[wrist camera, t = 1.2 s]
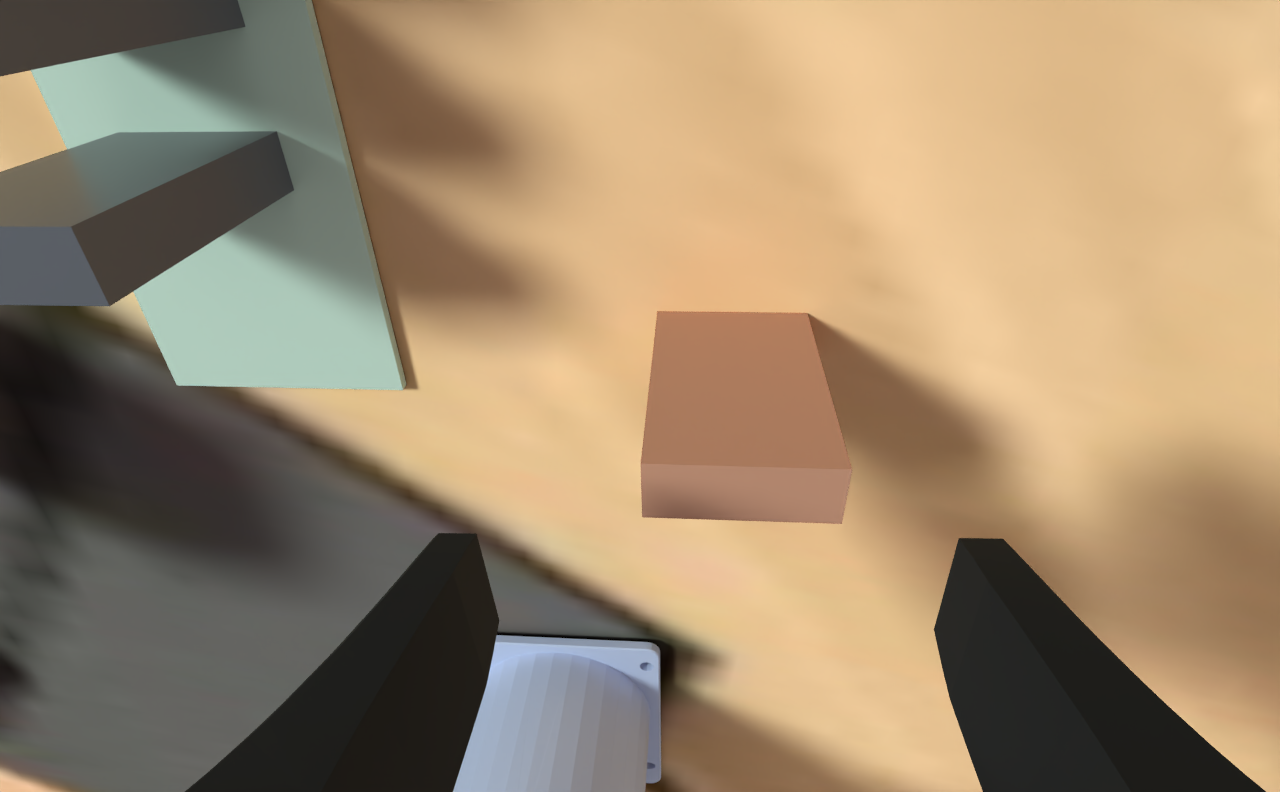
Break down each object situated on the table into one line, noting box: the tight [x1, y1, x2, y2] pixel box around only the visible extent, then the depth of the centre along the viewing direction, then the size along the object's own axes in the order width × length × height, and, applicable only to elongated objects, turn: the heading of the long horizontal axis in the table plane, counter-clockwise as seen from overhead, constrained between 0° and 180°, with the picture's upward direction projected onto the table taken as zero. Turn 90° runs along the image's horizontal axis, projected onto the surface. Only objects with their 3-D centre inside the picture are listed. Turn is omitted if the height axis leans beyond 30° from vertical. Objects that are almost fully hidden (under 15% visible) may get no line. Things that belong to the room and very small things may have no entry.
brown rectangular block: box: [641, 311, 852, 524], centre depth 16 cm, size 1×4×6 cm, turn 91°
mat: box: [31, 0, 407, 390], centre depth 16 cm, size 19×7×1 cm, turn 1°
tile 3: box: [0, 0, 246, 76], centre depth 12 cm, size 1×4×6 cm, turn 91°
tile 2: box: [0, 131, 294, 306], centre depth 14 cm, size 1×4×6 cm, turn 91°
